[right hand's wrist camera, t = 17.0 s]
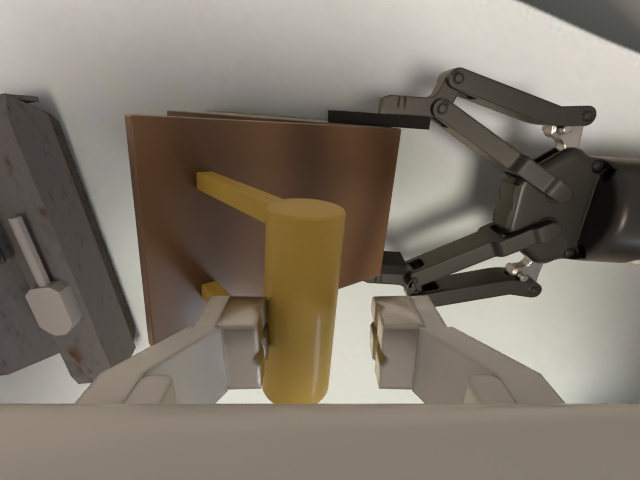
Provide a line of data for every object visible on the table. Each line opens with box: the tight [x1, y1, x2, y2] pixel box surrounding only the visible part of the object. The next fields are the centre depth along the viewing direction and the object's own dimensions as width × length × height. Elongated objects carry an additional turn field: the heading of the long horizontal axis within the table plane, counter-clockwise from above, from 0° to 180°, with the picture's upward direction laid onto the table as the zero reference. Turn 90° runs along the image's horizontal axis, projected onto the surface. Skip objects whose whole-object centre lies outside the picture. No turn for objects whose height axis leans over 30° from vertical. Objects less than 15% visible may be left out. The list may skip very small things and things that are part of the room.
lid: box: [125, 114, 401, 404], centre depth 16 cm, size 15×10×8 cm
